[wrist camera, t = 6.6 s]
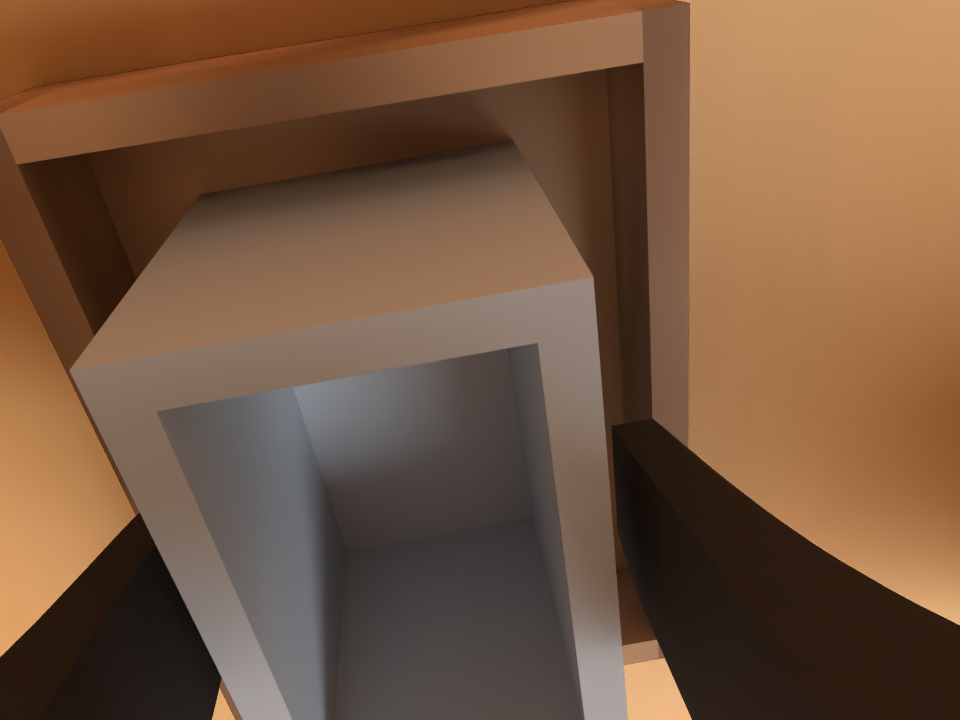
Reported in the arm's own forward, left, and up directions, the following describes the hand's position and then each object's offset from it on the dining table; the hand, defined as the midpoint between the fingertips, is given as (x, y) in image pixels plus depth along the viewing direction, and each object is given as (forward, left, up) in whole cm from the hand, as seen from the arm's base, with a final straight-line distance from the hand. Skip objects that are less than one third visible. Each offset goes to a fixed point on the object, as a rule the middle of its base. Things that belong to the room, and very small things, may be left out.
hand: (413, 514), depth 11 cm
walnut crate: (0, 0, -4) cm, 4 cm away
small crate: (0, 0, -3) cm, 3 cm away
